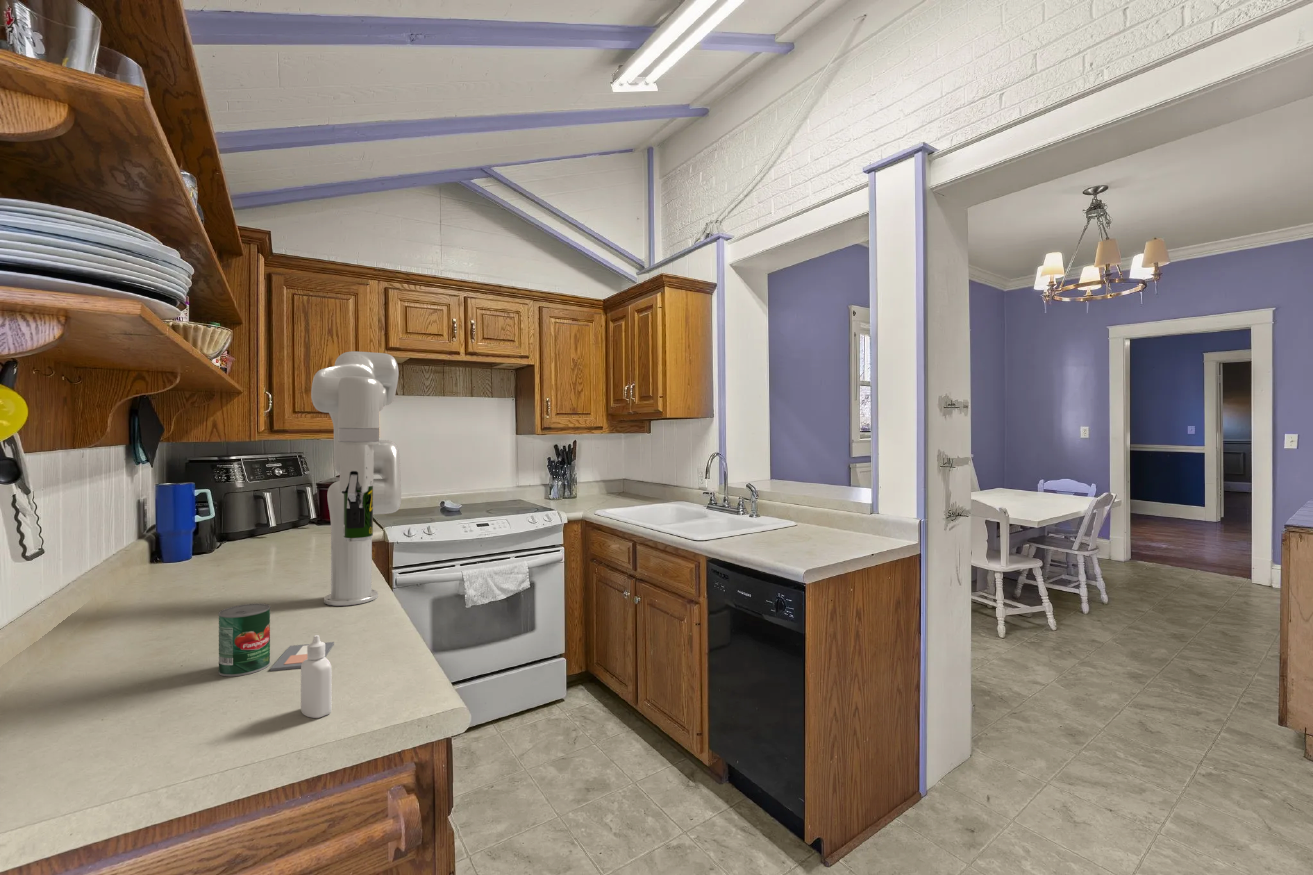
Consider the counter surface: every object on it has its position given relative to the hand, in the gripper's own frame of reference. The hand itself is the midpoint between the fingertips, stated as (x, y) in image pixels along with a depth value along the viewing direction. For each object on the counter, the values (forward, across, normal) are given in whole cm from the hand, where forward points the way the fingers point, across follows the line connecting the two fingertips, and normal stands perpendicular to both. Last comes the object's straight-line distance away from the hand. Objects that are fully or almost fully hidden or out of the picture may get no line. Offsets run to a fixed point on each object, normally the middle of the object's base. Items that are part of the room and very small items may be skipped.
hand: (358, 524), depth 120 cm
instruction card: (+25, +3, -9) cm, 27 cm away
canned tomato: (+25, +6, -18) cm, 32 cm away
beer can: (+3, 0, 0) cm, 3 cm away
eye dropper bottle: (+25, +29, -1) cm, 39 cm away
